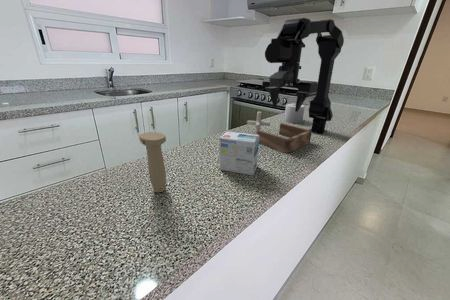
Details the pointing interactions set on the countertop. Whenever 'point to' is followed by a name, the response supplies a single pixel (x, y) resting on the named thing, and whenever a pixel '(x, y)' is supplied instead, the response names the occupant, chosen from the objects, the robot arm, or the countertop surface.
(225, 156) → the light bulb box
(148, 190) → the countertop surface
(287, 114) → the toilet tissue
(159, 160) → the handle
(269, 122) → the pipe connector
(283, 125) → the walnut bay
